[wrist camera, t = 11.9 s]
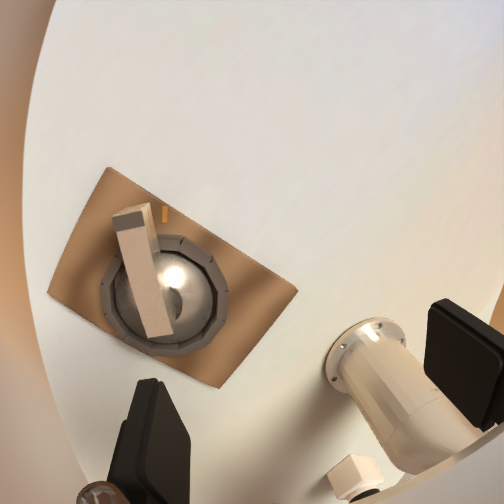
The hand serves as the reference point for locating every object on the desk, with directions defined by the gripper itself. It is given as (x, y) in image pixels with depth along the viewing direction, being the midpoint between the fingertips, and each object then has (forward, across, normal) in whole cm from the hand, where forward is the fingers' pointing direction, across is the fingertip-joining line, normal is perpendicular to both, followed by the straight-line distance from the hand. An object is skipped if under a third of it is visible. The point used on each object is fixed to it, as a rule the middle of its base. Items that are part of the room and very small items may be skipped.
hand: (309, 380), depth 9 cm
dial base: (+25, +10, +4) cm, 27 cm away
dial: (+23, +9, +2) cm, 25 cm away
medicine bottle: (+27, -11, +51) cm, 59 cm away
